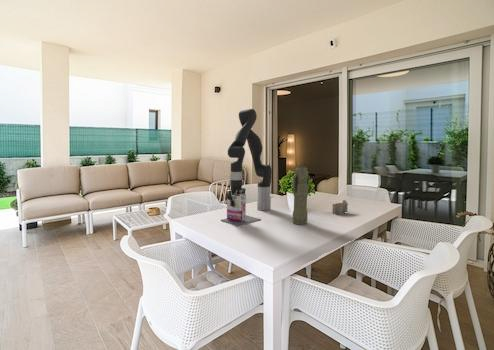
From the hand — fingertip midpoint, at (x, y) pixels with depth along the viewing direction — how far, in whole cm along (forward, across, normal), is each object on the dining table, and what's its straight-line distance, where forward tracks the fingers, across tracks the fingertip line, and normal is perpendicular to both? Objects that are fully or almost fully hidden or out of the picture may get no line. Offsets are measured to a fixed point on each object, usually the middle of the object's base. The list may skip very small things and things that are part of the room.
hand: (236, 205), depth 181 cm
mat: (+10, -4, 0) cm, 11 cm away
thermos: (+11, -27, +29) cm, 41 cm away
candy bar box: (+9, 0, 0) cm, 9 cm away
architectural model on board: (+11, -68, +34) cm, 77 cm away
